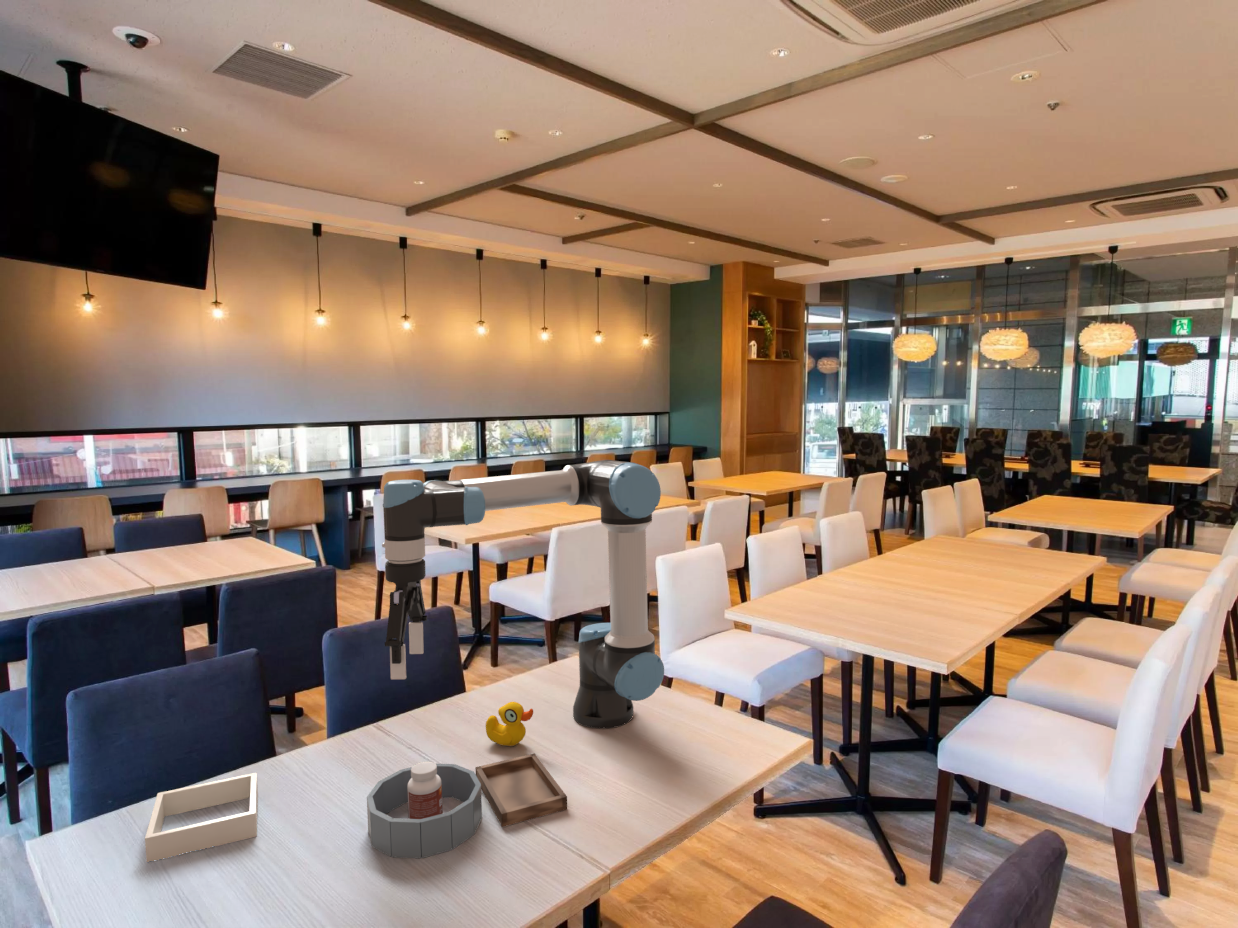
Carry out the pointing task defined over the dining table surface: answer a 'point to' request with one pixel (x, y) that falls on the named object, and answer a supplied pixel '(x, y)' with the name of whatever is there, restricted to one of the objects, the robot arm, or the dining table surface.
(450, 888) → the dining table surface
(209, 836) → the open rectangular frame
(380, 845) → the grey ringed piece
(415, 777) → the pill bottle
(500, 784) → the tray
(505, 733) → the duckling
